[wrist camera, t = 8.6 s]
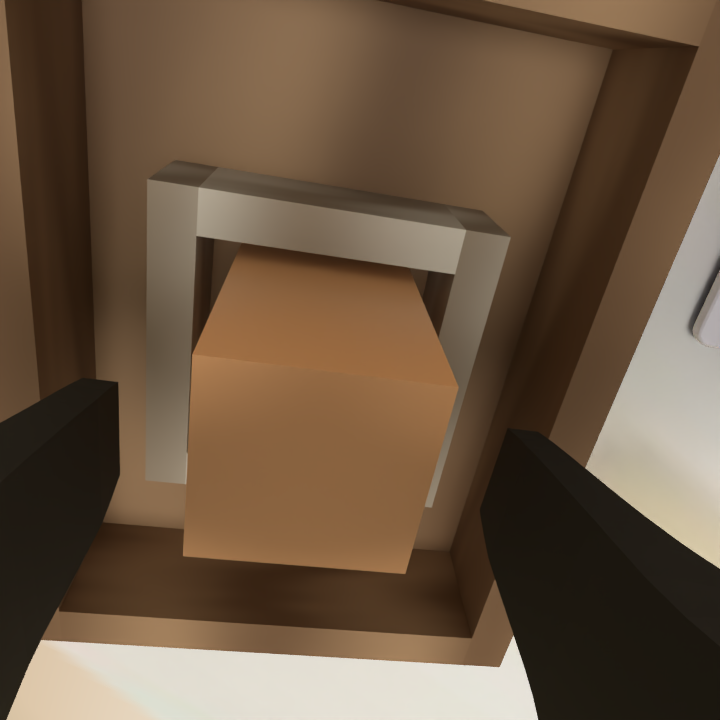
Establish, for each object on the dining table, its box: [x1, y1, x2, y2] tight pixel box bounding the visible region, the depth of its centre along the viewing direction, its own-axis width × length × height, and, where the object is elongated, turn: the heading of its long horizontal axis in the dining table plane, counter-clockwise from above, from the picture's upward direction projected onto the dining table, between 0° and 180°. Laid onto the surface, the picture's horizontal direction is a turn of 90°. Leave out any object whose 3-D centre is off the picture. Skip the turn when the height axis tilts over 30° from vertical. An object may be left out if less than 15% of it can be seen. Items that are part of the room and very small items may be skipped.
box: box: [0, 0, 720, 667], centre depth 15 cm, size 14×18×4 cm
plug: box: [183, 243, 459, 574], centre depth 13 cm, size 4×4×7 cm
